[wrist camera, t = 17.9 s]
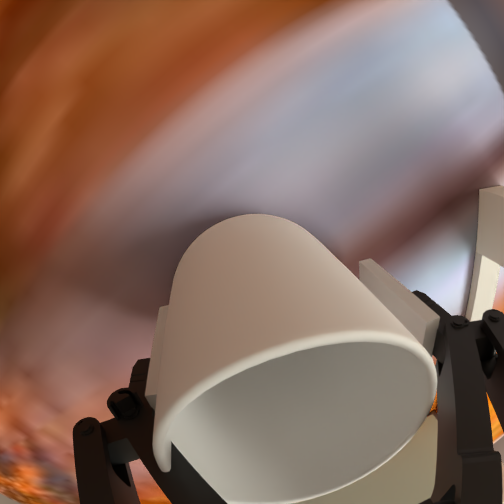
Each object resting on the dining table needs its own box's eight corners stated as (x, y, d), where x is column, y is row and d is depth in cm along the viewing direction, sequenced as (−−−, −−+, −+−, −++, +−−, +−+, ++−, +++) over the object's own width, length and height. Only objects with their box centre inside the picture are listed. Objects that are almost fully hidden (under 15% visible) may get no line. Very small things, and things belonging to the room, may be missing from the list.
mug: (334, 363, 21) (401, 487, 11) (158, 330, 18) (139, 497, 8) (392, 253, 18) (517, 352, 8) (199, 187, 15) (193, 291, 5)
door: (272, 473, 26) (305, 600, 12) (270, 461, 25) (306, 599, 11) (429, 423, 28) (491, 517, 14) (436, 408, 27) (504, 506, 13)
